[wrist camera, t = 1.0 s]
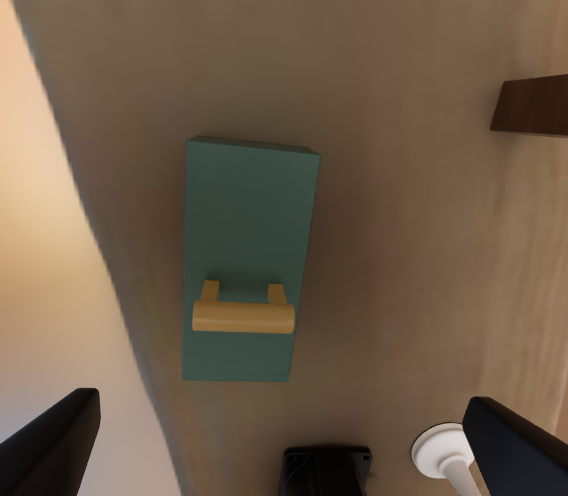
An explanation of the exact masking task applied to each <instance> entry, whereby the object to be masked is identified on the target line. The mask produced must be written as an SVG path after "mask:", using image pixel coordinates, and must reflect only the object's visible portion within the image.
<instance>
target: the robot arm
mask: <svg viewBox="0 0 568 496" xmlns="http://www.w3.org/2000/svg"><path fill="white" fill-rule="evenodd" d="M100 420H101V414H100V397H99V391H98V390H97V389H96V388H78V389H76V390H74V391H73V392H71V393H70V394H69V395H67V396H66V397H64V398H63V399H62V400H61V401H59V402H58V403H56V404H55V405H53V406H52V407H51V408H49V409H48V410H47V411H45V412H44V413H42V414H41V415H40V416H38V417H37V418H36V419H34V420H33V421H31V422H30V423H29V424H27V425H26V426H24V427H23V428H22V429H20V430H19V431H18V432H16V433H15V434H13V435H12V436H11V437H9V438H8V439H6V440H5V441H4V442H2V443H1V444H0V496H77V493H78V491H79V488H80V485H81V482H82V478H83V475H84V472H85V469H86V466H87V463H88V460H89V457H90V454H91V451H92V448H93V445H94V442H95V439H96V436H97V433H98V430H99V426H100ZM462 428H463V432H464V434H465V436H466V439H467V441H468V443H469V446H470V448H471V450H472V453H473V455H474V457H475V460H476V462H477V464H478V467H479V469H480V472H481V474H482V476H483V479H484V481H485V483H486V485H487V488H488V490H489V492H490V494H491V496H568V445H567V444H566V443H564V442H562V441H560V440H559V439H558V438H556V437H554V436H553V435H551V434H549V433H548V432H546V431H544V430H543V429H541V428H539V427H538V426H536V425H535V424H533V423H531V422H530V421H528V420H526V419H525V418H523V417H521V416H520V415H518V414H516V413H515V412H513V411H512V410H510V409H508V408H507V407H505V406H503V405H502V404H500V403H498V402H497V401H495V400H493V399H492V398H490V397H478V396H476V397H473V398H471V399H470V401H469V404H468V407H467V410H466V412H465V415H464V418H463V421H462ZM372 458H373V456H372V453H371V451H370V449H368V448H314V449H288V450H286V451H285V453H284V457H283V464H282V470H281V477H280V483H279V490H278V496H367V494H366V491H365V484H366V480H367V477H368V473H369V469H370V465H371V462H372Z"/></svg>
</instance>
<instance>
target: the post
mask: <svg viewBox="0 0 568 496" xmlns="http://www.w3.org/2000/svg"><path fill="white" fill-rule="evenodd" d="M491 130H492V131H500V132H508V133H516V134H524V135H533V136H546V137H559V138H568V74H564V75H555V76H547V77H538V78H530V79H521V80H513V81H505V82H504V85H503V88H502V92H501V95H500V99H499V102H498V105H497V109H496V112H495V116H494V119H493V122H492V126H491Z"/></svg>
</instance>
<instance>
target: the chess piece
mask: <svg viewBox="0 0 568 496" xmlns="http://www.w3.org/2000/svg"><path fill="white" fill-rule="evenodd" d="M411 455H412V460H413V462H414V464H415V465H416V466H417V468H418V469H419V471H420V472H421V473H422V474H424V475H426V476H428V477H431V478H447V479H448V480H449V481H450V483H451V484H452V485H453V487H454V488H455V489H456V491H457V492H458V494H459V495H460V496H481V494H480V492H479V490H478V488H477V486H476V484H475V482H474V480H473V478H472V476H471V474H470V471H469V469H468V467H469V465H470V464H471V463H472V462H473V460H474V458H475V457H474V455H473V453H472V450H471V448H470V446H469V443H468V441H467V439H466V436H465V434H464V432H463V428H462V425H460V424H456V423H446V424H441V425H438V426H435V427H433V428H431V429H429V430H427V431H426V432H424V433H423V434H422V435H421V436H420V437H419V438H418V439H417V440H416V442H415V443H414V445H413V448H412V453H411Z"/></svg>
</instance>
